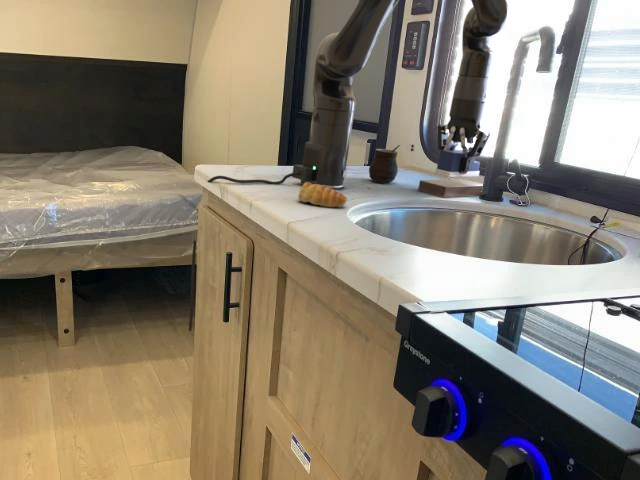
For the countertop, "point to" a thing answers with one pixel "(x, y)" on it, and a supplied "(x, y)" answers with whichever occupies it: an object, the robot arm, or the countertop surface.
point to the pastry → (321, 195)
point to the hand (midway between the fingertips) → (454, 171)
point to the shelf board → (451, 187)
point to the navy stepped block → (455, 164)
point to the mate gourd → (384, 166)
